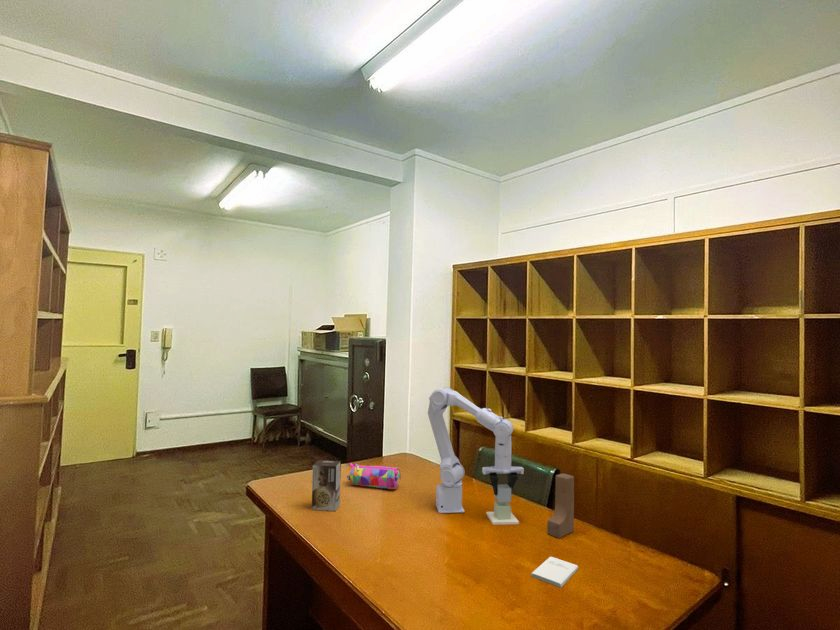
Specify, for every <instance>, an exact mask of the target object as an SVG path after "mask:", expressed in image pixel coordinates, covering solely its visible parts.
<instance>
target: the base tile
mask: <svg viewBox="0 0 840 630" xmlns="http://www.w3.org/2000/svg"><path fill="white" fill-rule="evenodd" d="M485 514H486V516H487V518H488V519H489V521H490V522H491V524H492V525H494V526H495V525H496V526H497V525H498V526H499V525H519V524H520V521H519V520H518V519H517V517H516V516H515V514H513V512H512V511H511V519H505V520H498V519H497V518H496V516H495V515H494V511H486V513H485Z"/></svg>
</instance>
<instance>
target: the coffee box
mask: <svg viewBox="0 0 840 630" xmlns="http://www.w3.org/2000/svg"><path fill="white" fill-rule="evenodd" d="M341 465H342V461H341V460H339V461H338V460H319V459H318V460H317V461H316V462H315V463H314V464H313V465H312V482H311V483H312V485H311V488H312V489H311V490H312V491H311V510H312V509H313V510H312V511H326V510H328V511H327V512H336V511H337V510H338V508H339V507H340V505H341V478H342V477H341V474H342V473H341V472H342V470H341V469H342V466H341Z"/></svg>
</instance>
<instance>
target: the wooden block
mask: <svg viewBox="0 0 840 630" xmlns="http://www.w3.org/2000/svg"><path fill="white" fill-rule="evenodd" d="M554 495H555V497H554V498H555V500H554V501H555V503H554V505H555V506H554V510H553V511H554V512H553V514H552V516H551V517H549V518H548V519H547V524H546V525H547V528H546V530H547V531H546V532H547V534H548V535H551V536H552V537H555V538H557V539H560V538H562V537H564V536H565V537H566V536H567V535H568V534H570V533H573V532H574V531H575V529H574V527H575V526H574V525H575V522H574V521H575V520H574V518H575V477H574V475H571V474H567V473H559V474H556V475H555V493H554Z"/></svg>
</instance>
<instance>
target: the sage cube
mask: <svg viewBox="0 0 840 630" xmlns="http://www.w3.org/2000/svg"><path fill="white" fill-rule="evenodd" d="M493 512H494V515H495V516H496V518H497V519H498V520H505V519H511V512H512V505H510V502H498V501H494V503H493Z"/></svg>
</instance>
